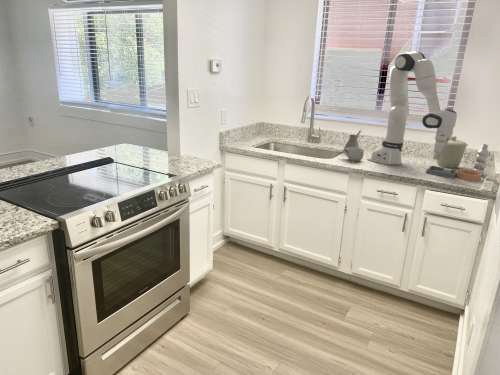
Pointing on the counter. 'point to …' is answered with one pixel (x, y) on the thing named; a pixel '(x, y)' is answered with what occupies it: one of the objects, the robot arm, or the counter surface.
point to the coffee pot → (352, 142)
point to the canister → (452, 153)
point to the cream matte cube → (447, 170)
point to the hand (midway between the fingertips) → (437, 158)
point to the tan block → (439, 157)
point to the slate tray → (440, 171)
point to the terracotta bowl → (469, 175)
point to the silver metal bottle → (481, 159)
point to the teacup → (354, 153)
